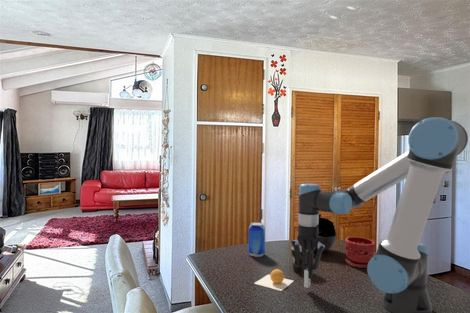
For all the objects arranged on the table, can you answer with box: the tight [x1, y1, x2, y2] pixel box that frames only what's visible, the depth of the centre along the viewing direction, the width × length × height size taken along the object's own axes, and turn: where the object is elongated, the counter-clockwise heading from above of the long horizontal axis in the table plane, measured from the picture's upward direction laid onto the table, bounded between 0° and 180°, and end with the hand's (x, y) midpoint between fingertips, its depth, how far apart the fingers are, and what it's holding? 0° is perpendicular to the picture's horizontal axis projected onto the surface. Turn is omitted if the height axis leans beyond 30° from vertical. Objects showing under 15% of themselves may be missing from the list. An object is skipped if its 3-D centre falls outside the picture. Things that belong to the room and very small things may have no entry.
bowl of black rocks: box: [314, 213, 338, 253], centre depth 177 cm, size 20×20×19 cm
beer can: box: [248, 221, 266, 258], centre depth 169 cm, size 8×8×16 cm
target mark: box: [253, 273, 295, 292], centre depth 133 cm, size 12×12×1 cm
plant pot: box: [344, 236, 376, 269], centre depth 156 cm, size 13×13×12 cm
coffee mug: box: [290, 245, 308, 275], centre depth 148 cm, size 12×9×10 cm
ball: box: [269, 268, 285, 284], centre depth 132 cm, size 6×6×6 cm
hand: (307, 286), depth 125 cm, fingers closed
